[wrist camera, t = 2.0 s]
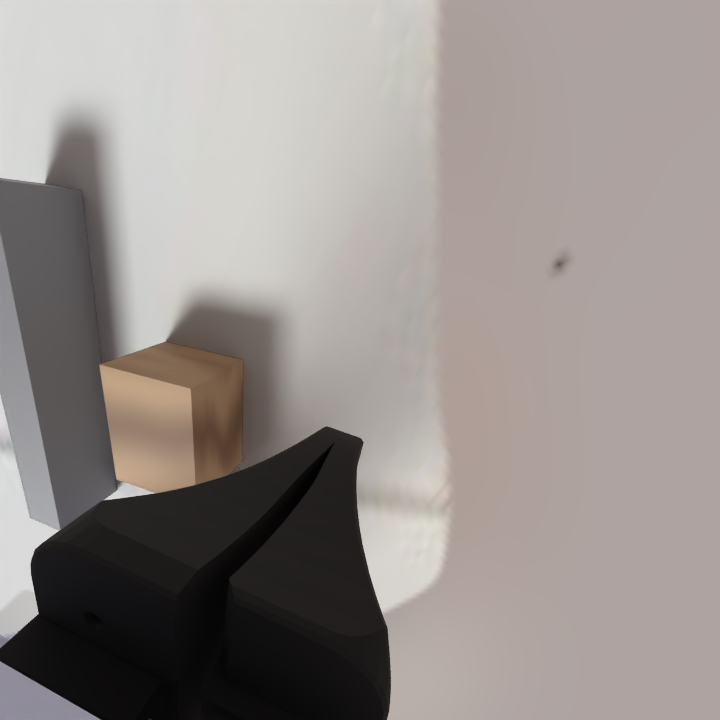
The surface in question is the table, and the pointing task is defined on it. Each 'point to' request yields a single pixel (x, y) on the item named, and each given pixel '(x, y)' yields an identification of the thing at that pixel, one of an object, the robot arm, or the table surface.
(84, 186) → the table surface
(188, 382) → the tan block
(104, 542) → the robot arm
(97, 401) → the gray rectangular bar
